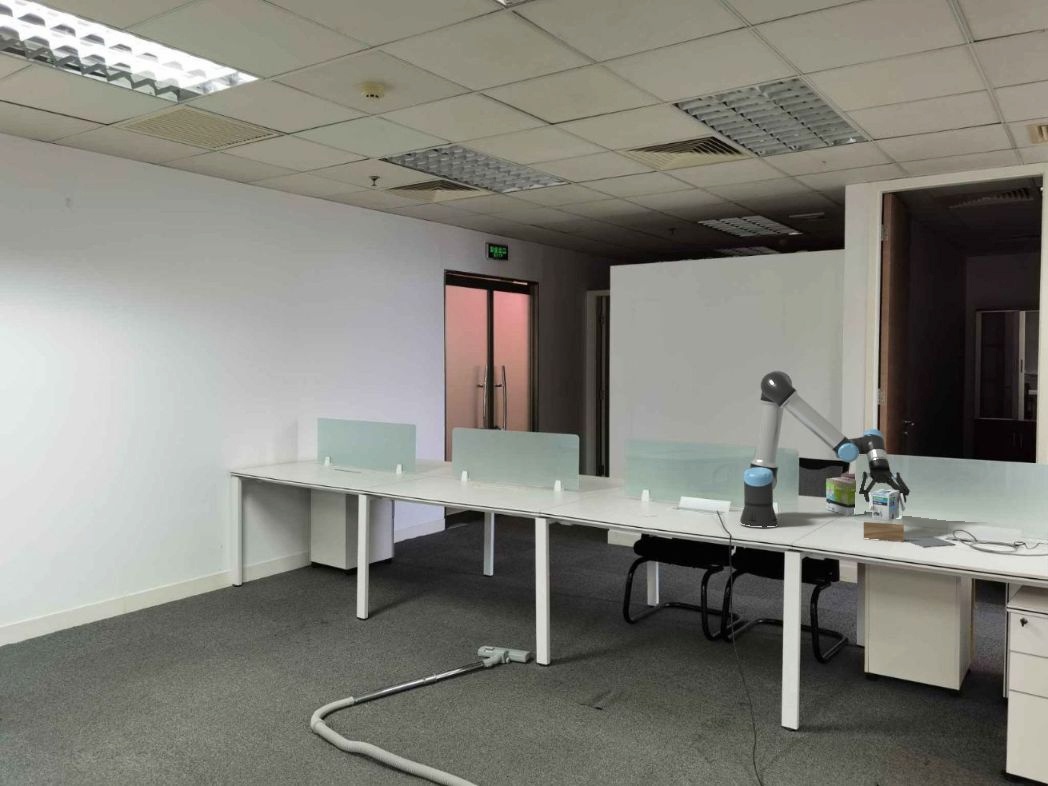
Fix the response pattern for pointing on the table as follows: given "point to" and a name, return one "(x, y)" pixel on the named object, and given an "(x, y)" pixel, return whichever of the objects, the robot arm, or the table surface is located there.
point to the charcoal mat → (928, 541)
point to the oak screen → (884, 531)
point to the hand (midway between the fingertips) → (887, 508)
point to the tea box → (841, 495)
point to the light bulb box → (885, 504)
